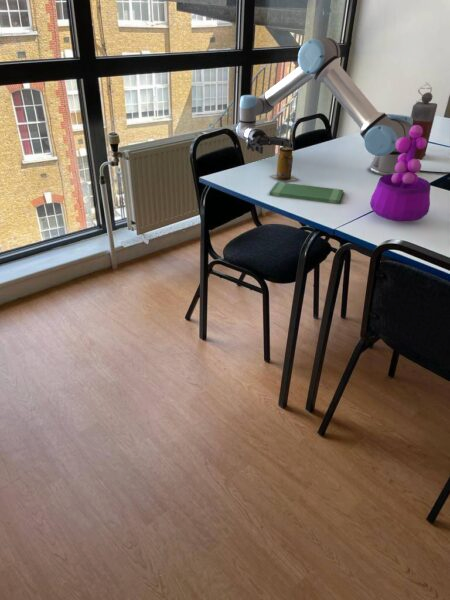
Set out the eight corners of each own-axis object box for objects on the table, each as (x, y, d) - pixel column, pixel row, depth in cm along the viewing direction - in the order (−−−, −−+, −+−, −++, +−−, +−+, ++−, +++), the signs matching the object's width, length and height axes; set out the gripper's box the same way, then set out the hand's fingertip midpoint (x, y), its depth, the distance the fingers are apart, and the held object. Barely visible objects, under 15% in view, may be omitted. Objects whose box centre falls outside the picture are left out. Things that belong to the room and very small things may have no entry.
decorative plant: (364, 223, 152) (382, 128, 135) (370, 204, 166) (387, 116, 150) (425, 232, 146) (451, 134, 130) (426, 211, 161) (449, 121, 144)
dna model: (419, 149, 228) (435, 83, 212) (406, 148, 230) (420, 83, 213) (417, 146, 234) (432, 81, 218) (404, 145, 235) (418, 81, 219)
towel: (343, 192, 176) (343, 189, 175) (339, 203, 166) (339, 200, 165) (277, 184, 183) (277, 181, 182) (269, 194, 173) (269, 191, 172)
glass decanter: (426, 154, 222) (441, 91, 206) (421, 160, 214) (436, 95, 198) (407, 151, 226) (420, 89, 210) (401, 157, 217) (415, 93, 202)
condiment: (286, 174, 194) (288, 145, 187) (297, 180, 188) (300, 150, 181) (271, 176, 191) (273, 147, 185) (282, 182, 185) (284, 152, 178)
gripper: (279, 143, 213) (302, 155, 197) (229, 147, 206) (248, 160, 189) (281, 126, 209) (304, 137, 193) (230, 130, 201) (249, 142, 185)
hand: (276, 149), depth 191 cm, fingers open, 13 cm apart
